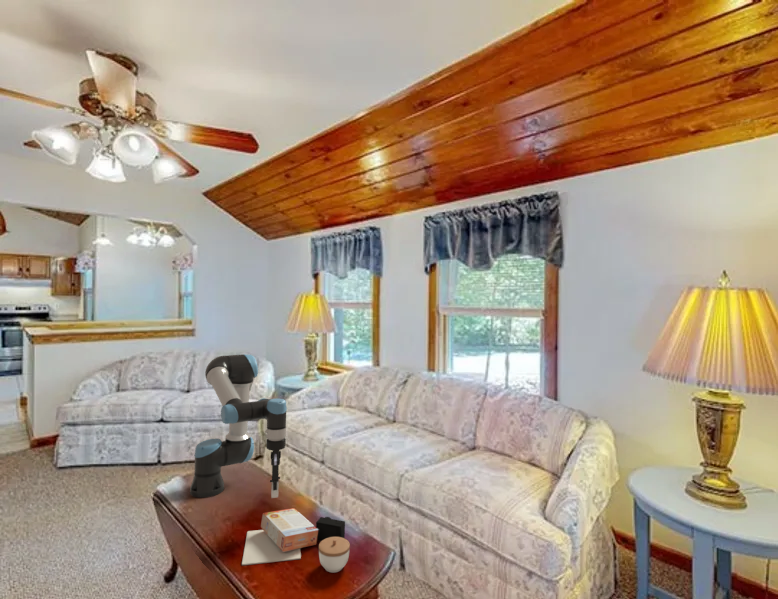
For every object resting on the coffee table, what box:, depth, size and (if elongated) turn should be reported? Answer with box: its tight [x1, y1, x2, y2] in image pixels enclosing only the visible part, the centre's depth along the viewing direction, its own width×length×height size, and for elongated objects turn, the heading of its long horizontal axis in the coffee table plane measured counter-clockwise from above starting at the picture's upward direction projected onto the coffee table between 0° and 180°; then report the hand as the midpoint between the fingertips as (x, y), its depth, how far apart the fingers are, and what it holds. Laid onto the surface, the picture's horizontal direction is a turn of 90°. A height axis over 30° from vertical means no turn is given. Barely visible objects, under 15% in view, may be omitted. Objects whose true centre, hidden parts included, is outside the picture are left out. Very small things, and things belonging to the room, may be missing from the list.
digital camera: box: [315, 516, 346, 542], centre depth 168 cm, size 10×5×7 cm, turn 73°
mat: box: [241, 529, 302, 566], centre depth 163 cm, size 22×20×1 cm
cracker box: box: [260, 507, 318, 552], centre depth 167 cm, size 14×6×21 cm
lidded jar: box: [318, 537, 351, 574], centre depth 150 cm, size 11×11×9 cm
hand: (274, 496), depth 174 cm, fingers closed
